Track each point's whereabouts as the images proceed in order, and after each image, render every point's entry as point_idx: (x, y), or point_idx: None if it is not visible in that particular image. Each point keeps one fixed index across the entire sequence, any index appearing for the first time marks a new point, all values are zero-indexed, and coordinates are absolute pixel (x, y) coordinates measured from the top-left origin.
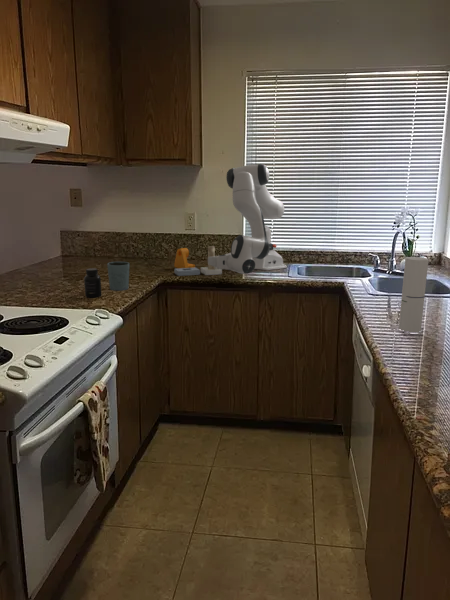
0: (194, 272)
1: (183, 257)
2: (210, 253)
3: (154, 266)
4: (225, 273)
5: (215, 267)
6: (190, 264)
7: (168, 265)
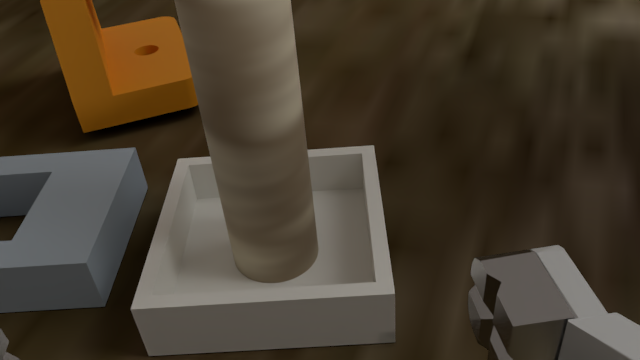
0: (20, 288)
1: (47, 11)
2: (199, 38)
3: (5, 28)
4: (457, 307)
5: (358, 160)
6: (171, 58)
7: (107, 16)
